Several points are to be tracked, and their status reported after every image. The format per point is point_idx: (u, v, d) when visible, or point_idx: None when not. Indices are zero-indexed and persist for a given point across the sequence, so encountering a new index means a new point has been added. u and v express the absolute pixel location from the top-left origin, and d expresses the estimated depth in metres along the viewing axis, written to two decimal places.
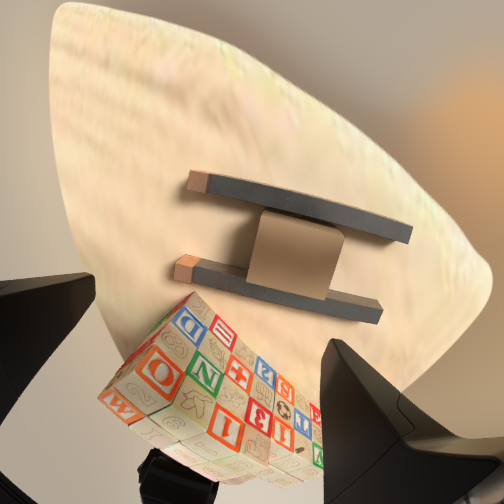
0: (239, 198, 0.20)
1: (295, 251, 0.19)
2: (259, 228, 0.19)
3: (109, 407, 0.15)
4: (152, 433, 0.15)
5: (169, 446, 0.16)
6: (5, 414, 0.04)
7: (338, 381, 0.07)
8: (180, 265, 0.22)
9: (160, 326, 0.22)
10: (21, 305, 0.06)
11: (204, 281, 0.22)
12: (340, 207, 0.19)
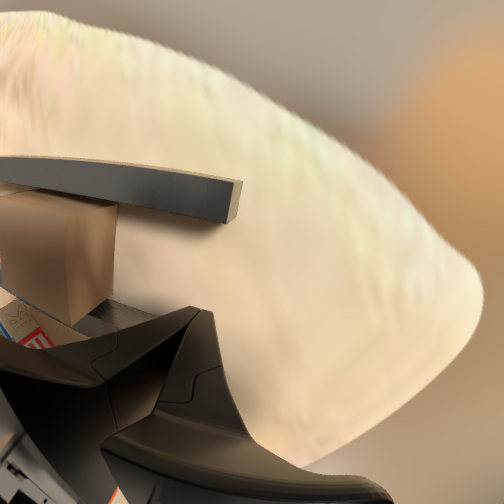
0: (6, 180, 0.10)
1: (24, 245, 0.09)
2: None
3: None
4: None
5: None
6: (112, 488, 0.04)
7: None
8: None
9: None
10: (142, 365, 0.05)
11: (2, 284, 0.13)
12: (89, 167, 0.10)
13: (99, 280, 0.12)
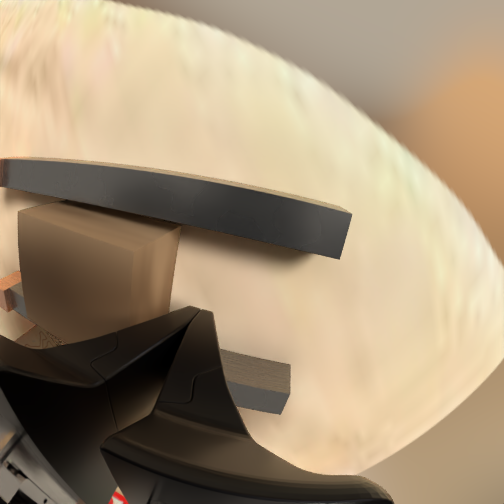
0: (24, 189, 0.09)
1: (60, 278, 0.08)
2: (18, 234, 0.08)
3: None
4: None
5: None
6: (112, 488, 0.04)
7: None
8: None
9: None
10: (142, 365, 0.05)
11: (20, 310, 0.11)
12: (152, 179, 0.08)
13: (158, 316, 0.11)
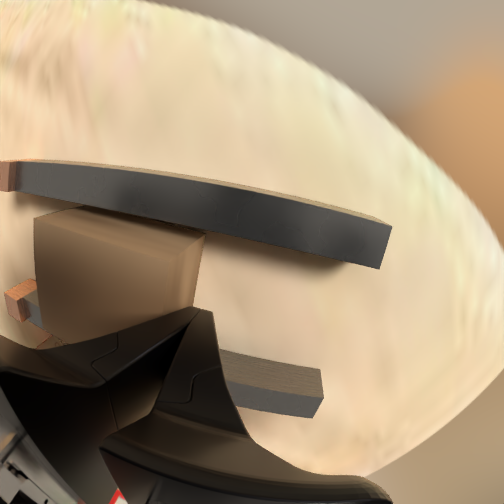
0: (41, 193, 0.09)
1: (84, 288, 0.08)
2: (34, 242, 0.08)
3: None
4: None
5: None
6: (112, 488, 0.04)
7: None
8: (8, 296, 0.11)
9: None
10: (143, 365, 0.05)
11: (35, 320, 0.11)
12: (194, 188, 0.08)
13: None
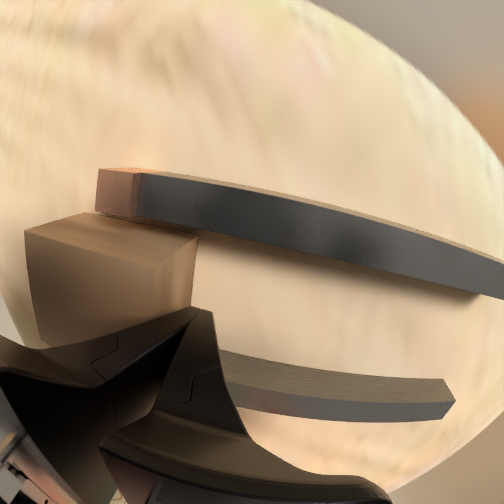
0: (204, 227, 0.09)
1: (75, 298, 0.08)
2: (26, 254, 0.08)
3: None
4: None
5: None
6: (112, 488, 0.04)
7: None
8: None
9: None
10: (143, 365, 0.05)
11: None
12: (427, 244, 0.08)
13: None
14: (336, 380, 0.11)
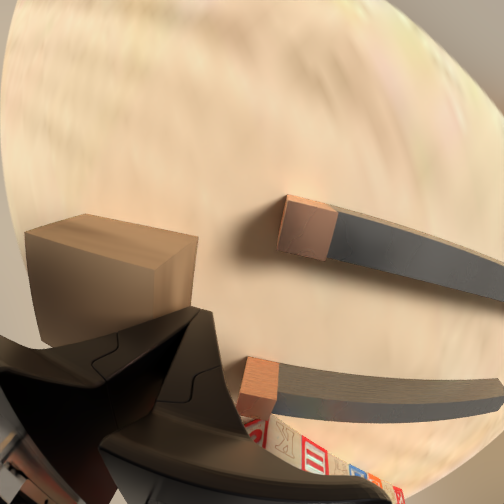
0: (393, 270, 0.08)
1: (75, 300, 0.08)
2: (27, 255, 0.08)
3: None
4: None
5: None
6: (113, 488, 0.04)
7: None
8: (251, 396, 0.10)
9: None
10: (143, 365, 0.05)
11: (293, 412, 0.10)
12: None
13: None
14: (436, 387, 0.11)
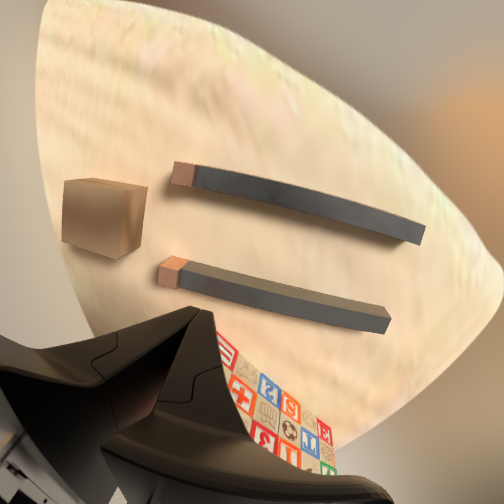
0: (229, 192, 0.18)
1: (86, 210, 0.17)
2: (64, 192, 0.17)
3: None
4: None
5: None
6: (112, 487, 0.04)
7: None
8: (164, 268, 0.19)
9: None
10: (142, 365, 0.05)
11: (191, 286, 0.20)
12: (345, 203, 0.17)
13: (134, 234, 0.20)
14: (303, 292, 0.20)
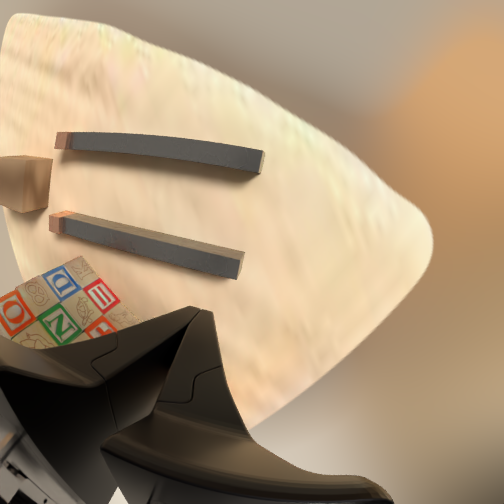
0: (88, 149, 0.18)
1: (9, 177, 0.18)
2: None
3: None
4: None
5: None
6: (112, 487, 0.04)
7: None
8: (52, 216, 0.19)
9: None
10: (142, 365, 0.05)
11: (69, 231, 0.20)
12: (170, 140, 0.17)
13: (40, 195, 0.20)
14: (153, 233, 0.21)
